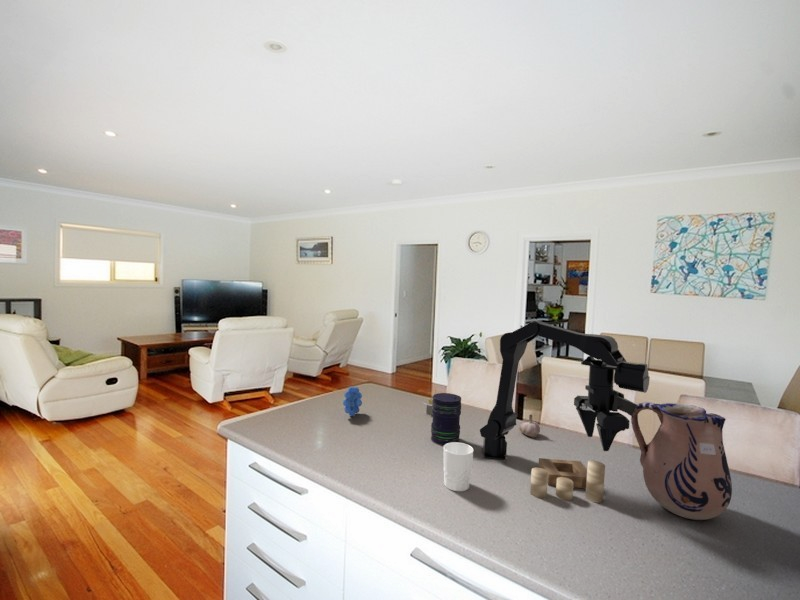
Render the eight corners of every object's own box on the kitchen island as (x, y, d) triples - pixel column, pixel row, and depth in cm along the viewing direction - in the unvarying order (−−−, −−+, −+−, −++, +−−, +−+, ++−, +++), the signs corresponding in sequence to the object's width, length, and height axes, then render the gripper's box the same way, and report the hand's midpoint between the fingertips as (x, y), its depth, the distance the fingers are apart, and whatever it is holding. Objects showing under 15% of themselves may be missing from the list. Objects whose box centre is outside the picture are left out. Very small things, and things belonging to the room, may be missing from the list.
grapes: (352, 422, 147) (354, 390, 146) (338, 418, 150) (339, 388, 149) (369, 413, 157) (370, 384, 157) (355, 410, 160) (356, 381, 160)
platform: (424, 408, 169) (424, 393, 168) (462, 417, 159) (463, 401, 159) (409, 415, 159) (410, 399, 159) (449, 425, 149) (449, 408, 149)
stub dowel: (558, 499, 99) (559, 484, 99) (553, 491, 103) (554, 476, 103) (574, 501, 98) (575, 485, 98) (569, 492, 102) (570, 477, 102)
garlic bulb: (537, 440, 137) (538, 418, 137) (516, 435, 141) (517, 413, 141) (541, 433, 144) (542, 412, 144) (521, 429, 147) (522, 408, 147)
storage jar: (426, 442, 131) (428, 398, 130) (435, 432, 140) (437, 391, 140) (455, 448, 127) (458, 403, 127) (462, 437, 136) (464, 395, 136)
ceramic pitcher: (736, 542, 85) (745, 428, 84) (624, 509, 96) (631, 408, 95) (722, 505, 99) (729, 408, 98) (626, 480, 111) (632, 393, 110)
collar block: (548, 485, 106) (549, 474, 106) (538, 468, 116) (538, 458, 116) (594, 488, 105) (594, 478, 105) (579, 471, 115) (580, 461, 115)
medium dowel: (532, 497, 99) (533, 474, 99) (528, 489, 103) (529, 466, 103) (548, 498, 99) (550, 475, 99) (544, 490, 103) (545, 468, 103)
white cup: (453, 495, 98) (455, 456, 98) (436, 481, 105) (437, 444, 105) (477, 489, 102) (479, 451, 102) (459, 475, 109) (461, 440, 109)
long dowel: (589, 502, 98) (591, 467, 98) (583, 493, 102) (585, 459, 102) (605, 503, 98) (608, 468, 98) (598, 494, 102) (601, 461, 102)
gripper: (654, 395, 92) (650, 461, 92) (614, 377, 110) (611, 432, 111) (605, 393, 92) (602, 458, 93) (574, 375, 111) (571, 429, 111)
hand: (597, 443), depth 102 cm, fingers open, 9 cm apart
